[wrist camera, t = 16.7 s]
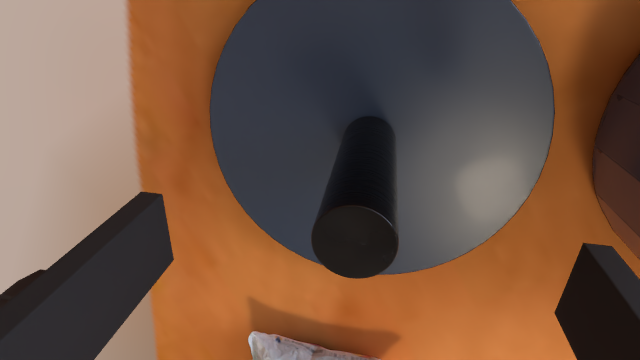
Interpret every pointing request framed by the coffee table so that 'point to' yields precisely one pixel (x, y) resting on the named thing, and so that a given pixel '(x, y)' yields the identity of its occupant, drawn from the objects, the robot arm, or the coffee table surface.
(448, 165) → the lid
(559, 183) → the coffee table surface
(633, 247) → the pot
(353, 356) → the packaged food
